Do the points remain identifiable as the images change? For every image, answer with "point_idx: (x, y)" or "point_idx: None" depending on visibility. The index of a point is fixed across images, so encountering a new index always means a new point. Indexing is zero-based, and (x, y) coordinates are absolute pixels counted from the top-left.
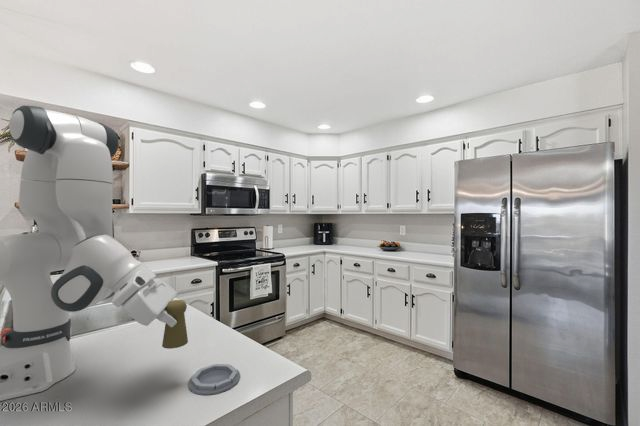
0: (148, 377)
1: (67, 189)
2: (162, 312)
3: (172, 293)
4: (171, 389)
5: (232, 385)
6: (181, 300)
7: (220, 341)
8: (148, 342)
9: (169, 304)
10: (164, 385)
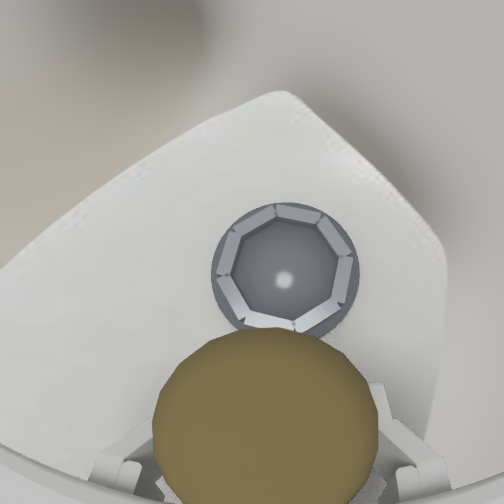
0: None
1: None
2: (447, 488)
3: (3, 483)
4: None
5: (330, 217)
6: (216, 390)
7: (53, 284)
8: None
9: (343, 495)
10: None
